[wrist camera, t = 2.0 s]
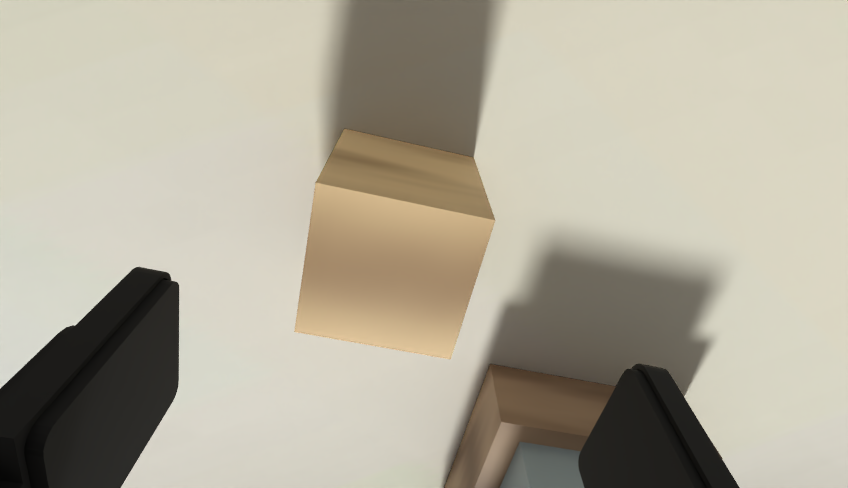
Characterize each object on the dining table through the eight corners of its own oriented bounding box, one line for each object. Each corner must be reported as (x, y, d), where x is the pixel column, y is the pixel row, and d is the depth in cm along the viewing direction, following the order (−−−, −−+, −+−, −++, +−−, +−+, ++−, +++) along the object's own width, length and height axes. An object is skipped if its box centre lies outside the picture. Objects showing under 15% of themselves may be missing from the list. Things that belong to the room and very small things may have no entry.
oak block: (442, 267, 22) (450, 359, 16) (325, 244, 21) (294, 331, 16) (473, 157, 19) (495, 220, 14) (344, 128, 19) (315, 182, 13)
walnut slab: (603, 518, 30) (628, 591, 26) (439, 494, 29) (441, 566, 25) (679, 392, 25) (722, 458, 22) (489, 358, 24) (501, 422, 21)
